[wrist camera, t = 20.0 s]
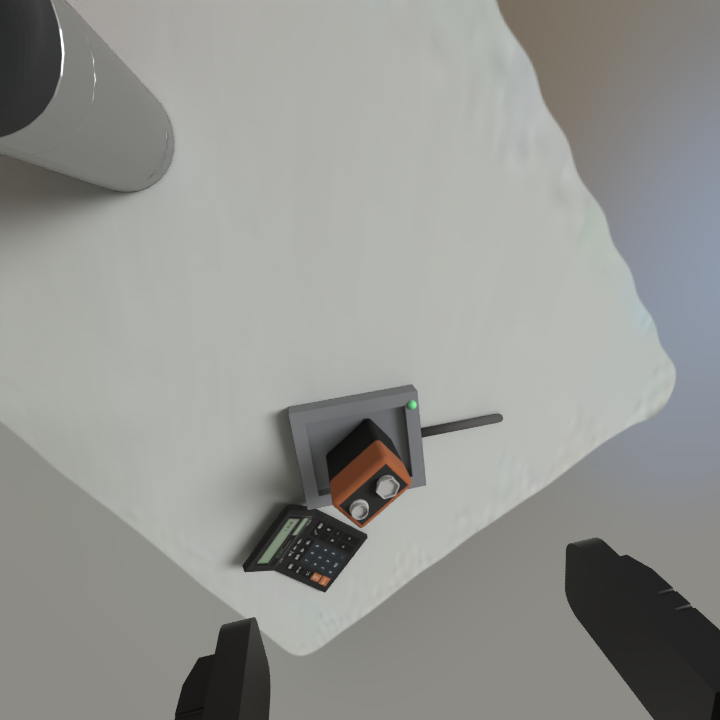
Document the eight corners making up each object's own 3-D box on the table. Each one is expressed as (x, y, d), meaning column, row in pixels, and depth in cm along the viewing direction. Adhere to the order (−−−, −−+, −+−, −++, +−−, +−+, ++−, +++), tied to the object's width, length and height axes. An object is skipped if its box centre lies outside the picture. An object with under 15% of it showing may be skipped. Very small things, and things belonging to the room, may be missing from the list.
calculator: (324, 587, 50) (326, 607, 48) (245, 551, 47) (241, 570, 44) (366, 532, 49) (370, 550, 46) (287, 492, 46) (286, 508, 43)
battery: (392, 439, 45) (418, 490, 35) (349, 478, 45) (363, 538, 36) (367, 415, 44) (387, 460, 34) (323, 455, 44) (330, 511, 35)
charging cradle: (307, 499, 46) (307, 513, 44) (288, 406, 43) (288, 416, 40) (501, 458, 49) (512, 470, 46) (499, 368, 45) (510, 375, 43)
